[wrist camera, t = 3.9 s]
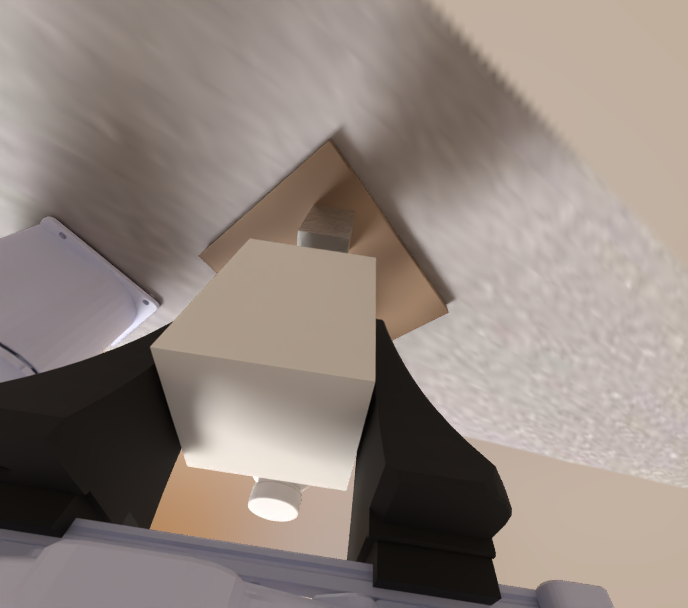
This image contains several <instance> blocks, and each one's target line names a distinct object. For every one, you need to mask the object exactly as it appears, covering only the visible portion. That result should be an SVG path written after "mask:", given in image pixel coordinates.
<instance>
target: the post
mask: <svg viewBox="0 0 688 608" xmlns="http://www.w3.org/2000/svg"><path fill="white" fill-rule="evenodd" d="M354 214H355V211H349V210H343V209H337V208H330V207H324V206H317V205H313V206H312V208H311V210H310V211H309V213H308V215H307V216H306V218H305V220H304V221H303V223H302V224H301V226H300V228H299V229H298V236H297V246H302V247H309V248H315V249H322V250H328V251H335V252H342V253H349V248H350V241H351V234H352V228H353V221H354Z"/></svg>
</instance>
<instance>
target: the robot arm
mask: <svg viewBox="0 0 688 608" xmlns="http://www.w3.org/2000/svg"><path fill="white" fill-rule="evenodd" d="M64 234H65V235H66V236H65V235H64ZM146 300H147V301H148V302H147V301H146ZM159 307H160V305H159V303H158V302H157V301H156V300H155V299H153V298H152V297H151V296H150V295H148V294H147V293H146V292H145V291H144V290H142V289H141V288H140V287H139V286H137V285H136V284H135V283H134V282H132V281H131V280H130V279H129V278H128V277H126V276H125V275H124V274H123V273H121V272H120V271H119V270H118V269H117V268H115V267H114V266H113V265H112V264H110V263H109V262H108V261H107V260H106V259H104V258H103V257H102V256H101V255H99V254H98V253H97V252H96V251H94V250H93V249H92V248H91V247H90V246H88V245H87V244H86V243H85V242H83V241H82V240H81V239H80V238H79V237H77V236H76V235H75V234H74V233H72V232H71V231H70V230H69V229H68V228H66V227H65V226H64V225H63V224H61V223H60V222H59V221H58V220H56V219H55V218H53V217H46V218H44V219H42V221H41V222H40V224H38V225H36V226H33V227H30V228H27V229H25V230H22V231H19V232H17V233H14V234H11V235H8V236H6V237H3V238H0V608H614V606H613V604H612V602H611V599H610V597H609V595H608V593H607V591H606V590H605V589H604V588H603V587H600V586H595V585H589V584H582V583H576V582H569V581H563V580H550V581H546V582H543V583H542V584H540V585H539V586H538V587H537V588H536V590H533V589H527V588H521V587H514V586H507V585H501V584H498V581H497V577H496V573H495V569H494V565H493V561H492V559H494V558H495V557H496V552H495V548H494V544H493V541H492V537H493V536H494V535H495V534H496V533H497V532H498V531H499V530H500V529H501V528H502V527H503V526H504V525H505V524H506V523H507V522H508V520H509V518H510V517H511V515H512V508H511V505H510V502H509V499H508V496H507V493H506V490H505V487H504V485H503V482H502V480H501V478H500V476H499V474H498V471H497V469H496V467H495V466H494V465H493V464H492V463H491V462H490V461H489V460H488V459H486V458H485V457H484V456H483V455H482V454H481V453H480V452H478V451H477V450H476V449H475V448H474V447H473V446H472V445H470V444H469V443H468V442H467V441H466V440H465V439H464V438H463V437H462V436H461V435H460V434H459V433H458V432H457V431H456V430H455V429H454V428H453V427H452V426H451V425H450V424H449V423H448V422H447V421H446V420H445V419H444V417H443V416H442V415H441V414H440V413H439V412H438V411H437V410H436V408H435V407H434V406H433V405H432V404H431V402H430V401H429V400H428V399H427V397H426V396H425V395H424V393H423V392H422V391H421V389H420V388H419V387H418V385H417V384H416V382H415V381H414V379H413V378H412V376H411V375H410V373H409V371H408V370H407V368H406V366H405V365H404V363H403V361H402V359H401V357H400V356H399V354H398V352H397V350H396V348H395V346H394V344H393V342H392V339H391V337H390V335H389V333H388V330H387V328H386V325H385V322H384V321H383V320H381V319H376V351H375V385H374V389H373V392H372V396H371V400H370V404H369V408H368V411H367V415H366V419H365V423H364V426H363V430H362V434H361V438H360V441H359V445H358V449H357V456H356V468H355V480H354V481H355V482H354V492H353V503H352V514H351V525H350V535H349V546H348V555H347V560H341V559H335V558H328V557H322V556H316V555H309V554H303V553H297V552H290V551H284V550H277V549H271V548H265V547H258V546H252V545H245V544H238V543H233V542H226V541H220V540H214V539H207V538H201V537H194V536H188V535H182V534H175V533H169V532H163V531H156V530H150V526H151V523H152V521H153V518H154V516H155V513H156V510H157V507H158V505H159V502H160V499H161V497H162V494H163V492H164V489H165V487H166V484H167V481H168V479H169V477H170V474H171V472H172V469H173V467H174V464H175V462H176V460H177V458H178V455H179V453H180V451H181V448H182V447H181V444H180V441H179V438H178V435H177V432H176V428H175V425H174V422H173V419H172V416H171V412H170V409H169V406H168V403H167V400H166V397H165V393H164V390H163V387H162V384H161V381H160V377H159V374H158V371H157V368H156V365H155V361H154V358H153V355H152V352H151V349H150V346H151V345H152V344H153V343H154V342H155V341H156V340H157V339H158V338H159V337H160V335H161V334H162V333H163V332H164V331H165V330H166V329H167V328H168V327H169V326H170V325H171V324H172V322H171V323H169V324H167V325H165V326H163V327H162V328H160V329H158V330H156V331H154V332H152V333H150V334H148V335H146V336H144V337H141V338H139V339H137V340H135V341H132V342H130V343H128V344H125V345H123V346H121V347H118V348H116V349H113V350H110V351H107V352H105V353H102V352H103V351H104V350H105V349H106V348H107V347H108V346H109V345H110V346H115V345H116V344H117V343H119V342H120V341H121V340H122V339H123V338H124V337H126V336H127V335H128V334H129V333H130V332H132V331H133V330H134V329H135V328H136V327H138V326H139V325H140V324H141V323H142V322H143V321H145V320H146V319H147V318H148V317H149V316H151V315H152V314H153V313H154V312H155V311H156V310H158V309H159ZM100 353H102V354H100ZM301 596H303V597H301ZM305 597H309V598H312V599H308V598H305Z"/></svg>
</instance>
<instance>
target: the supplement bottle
mask: <svg viewBox="0 0 688 608" xmlns="http://www.w3.org/2000/svg"><path fill="white" fill-rule="evenodd" d="M253 478H254V480H255V481H256V484H254V486H253V489H252V492H251V495H250V499H249V502H248V507H249V509H250V510H251V511H252V512H253V513H254V514H256V515H257V516H260V517H262V518H265V519H268V520H273V521H289V520H293V519H295V518H296V517H297V516H298V513H299V509H300V504H301V501H302V499H301V496H302V494H301V492H302V491H303V490H305V489H307V488H308V487H309V486H310V485H305V484H299V483H292V482H286V481H279V480H273V479H267V478H260V477H254V476H253Z"/></svg>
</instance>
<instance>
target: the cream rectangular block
mask: <svg viewBox="0 0 688 608" xmlns="http://www.w3.org/2000/svg"><path fill="white" fill-rule="evenodd" d="M150 349H151V352H152V355H153V358H154V361H155V365H156V368H157V371H158V374H159V377H160V381H161V384H162V387H163V390H164V393H165V397H166V400H167V403H168V406H169V409H170V412H171V416H172V419H173V422H174V425H175V428H176V432H177V435H178V438H179V441H180V444H181V447H182V451H183V454H184V457H185V460H186V463H187V466H190V467H196V468H202V469H210V470H216V471H222V472H228V473H234V474H241V475H248V476H254V477H260V478H267V479H273V480H279V481H286V482H292V483H299V484H305V485H312V486H318V487H324V488H331V489H337V490H344V491H346V490H347V486H348V483H349V479H350V475H351V471H352V468H353V464H354V460H355V456H356V453H357V449H358V445H359V441H360V438H361V434H362V430H363V426H364V423H365V419H366V415H367V411H368V408H369V404H370V400H371V396H372V392H373V389H374V385H375V351H376V258H375V257H368V256H361V255H355V254H348V253H342V252H335V251H328V250H322V249H315V248H309V247H302V246H296V245H289V244H282V243H276V242H269V241H263V240H256V239H249V240H248V241H247V242H246V243H245V244H244V245H243V246H242V247H241V248H240V249H239V251H238V252H237V253H236V254H235V255H234V256H233V257H232V258H231V259H230V260H229V261H228V263H227V264H226V265H225V266H224V267H223V268H222V269H221V270H220V271H219V272H218V273H217V275H216V276H215V277H214V278H213V279H212V280H211V281H210V282H209V283H208V284H207V285H206V287H205V288H204V289H203V290H202V291H201V292H200V293H199V294H198V295H197V296H196V297H195V298H194V300H193V301H192V302H191V303H190V304H189V305H188V306H187V307H186V308H185V309H184V310H183V312H182V313H181V314H180V315H179V316H178V317H177V318H176V319H175V320H174V321H173V322H172V324H171V325H170V326H169V327H168V328H167V329H166V330H165V331H164V332H163V333H162V334H161V335H160V337H159V338H158V339H157V340H156V341H155V342H154V343H153V344H152V345H151V346H150Z"/></svg>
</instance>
